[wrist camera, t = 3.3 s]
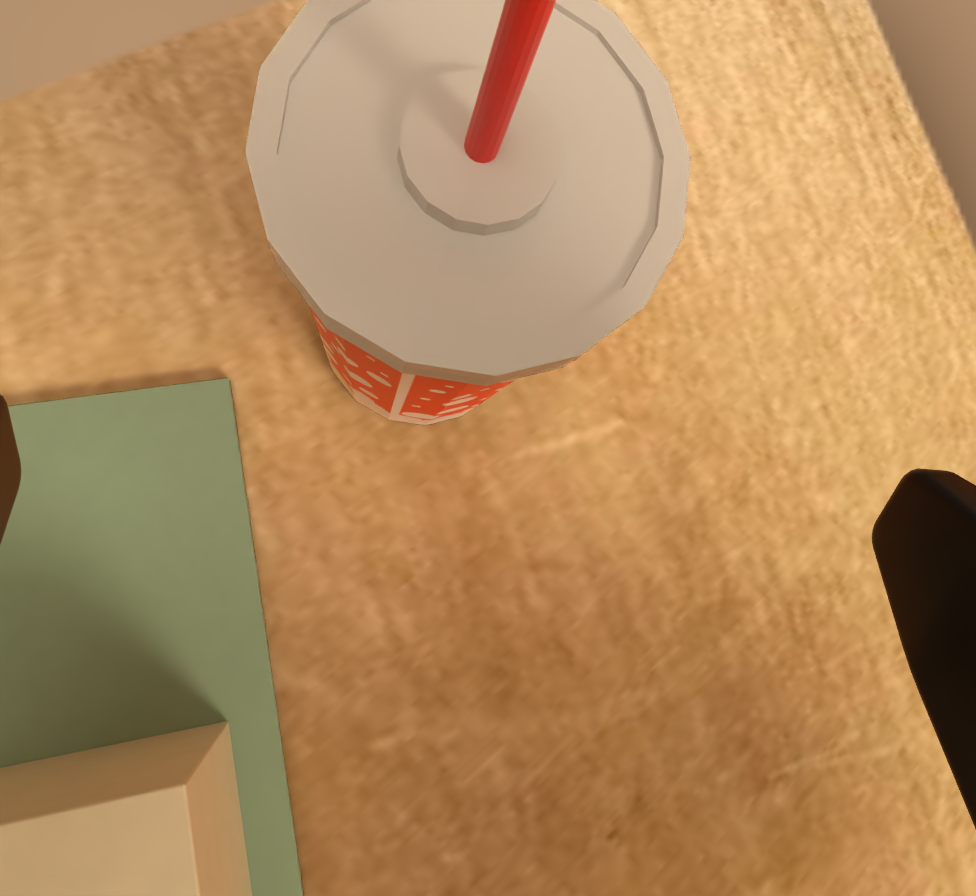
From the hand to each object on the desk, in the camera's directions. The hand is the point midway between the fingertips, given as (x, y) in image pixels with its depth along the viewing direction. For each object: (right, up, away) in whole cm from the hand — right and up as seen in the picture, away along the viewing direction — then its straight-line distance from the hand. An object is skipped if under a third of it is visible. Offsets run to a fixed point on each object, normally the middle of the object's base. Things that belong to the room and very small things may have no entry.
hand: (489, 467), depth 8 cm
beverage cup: (-2, +3, +12) cm, 12 cm away
